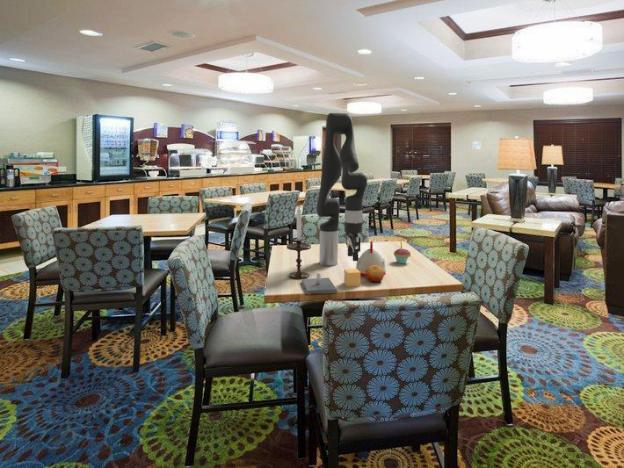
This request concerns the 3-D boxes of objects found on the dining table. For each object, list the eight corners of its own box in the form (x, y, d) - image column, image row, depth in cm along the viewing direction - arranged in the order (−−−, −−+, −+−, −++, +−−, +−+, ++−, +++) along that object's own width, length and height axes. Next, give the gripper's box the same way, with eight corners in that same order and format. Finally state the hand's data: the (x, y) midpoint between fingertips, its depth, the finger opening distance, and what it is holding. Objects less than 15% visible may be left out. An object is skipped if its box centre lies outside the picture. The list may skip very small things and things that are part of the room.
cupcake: (390, 260, 225) (391, 238, 223) (404, 259, 228) (406, 237, 225) (398, 264, 217) (399, 241, 215) (413, 263, 220) (414, 240, 217)
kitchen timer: (384, 269, 208) (385, 239, 205) (386, 278, 195) (387, 245, 192) (355, 268, 210) (356, 238, 207) (355, 277, 196) (356, 245, 193)
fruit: (381, 274, 196) (383, 261, 191) (383, 287, 190) (386, 275, 185) (363, 274, 196) (365, 261, 190) (365, 287, 190) (367, 275, 184)
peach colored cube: (344, 282, 188) (344, 269, 187) (356, 281, 189) (356, 268, 188) (347, 286, 182) (347, 272, 181) (360, 285, 183) (360, 272, 182)
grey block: (301, 282, 188) (301, 268, 187) (328, 281, 190) (328, 267, 189) (307, 294, 172) (307, 279, 171) (336, 292, 174) (336, 278, 173)
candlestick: (308, 280, 190) (308, 201, 184) (284, 279, 192) (283, 201, 186) (312, 273, 201) (313, 198, 194) (290, 272, 203) (289, 198, 196)
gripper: (340, 218, 187) (340, 255, 189) (349, 223, 173) (348, 262, 176) (357, 218, 188) (356, 254, 191) (367, 223, 174) (366, 262, 177)
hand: (352, 258), depth 183 cm, fingers open, 8 cm apart
